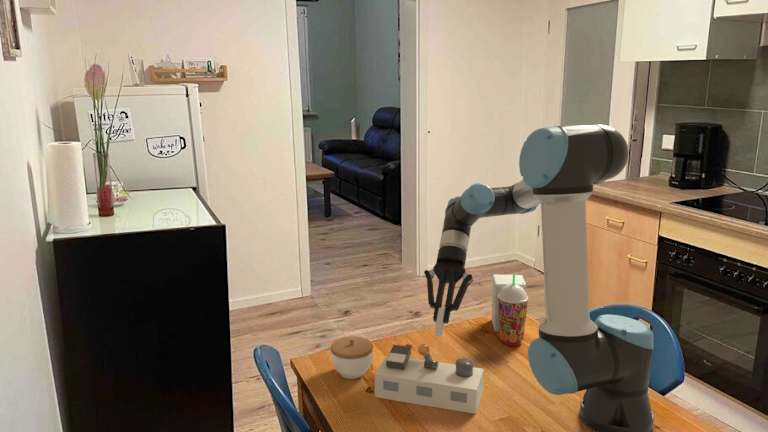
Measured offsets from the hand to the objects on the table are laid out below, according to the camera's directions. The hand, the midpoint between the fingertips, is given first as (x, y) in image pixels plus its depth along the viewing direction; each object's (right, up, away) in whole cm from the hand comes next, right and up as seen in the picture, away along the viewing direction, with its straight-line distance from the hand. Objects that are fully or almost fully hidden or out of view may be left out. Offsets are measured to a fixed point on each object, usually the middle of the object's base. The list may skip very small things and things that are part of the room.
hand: (438, 334), depth 146 cm
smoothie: (+23, -7, +21) cm, 32 cm away
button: (+5, -8, -8) cm, 12 cm away
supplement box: (+24, -4, +32) cm, 40 cm away
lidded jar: (-22, -11, +5) cm, 25 cm away
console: (-3, -13, -5) cm, 15 cm away
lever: (-2, -6, -6) cm, 9 cm away
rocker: (-10, -5, -4) cm, 11 cm away
